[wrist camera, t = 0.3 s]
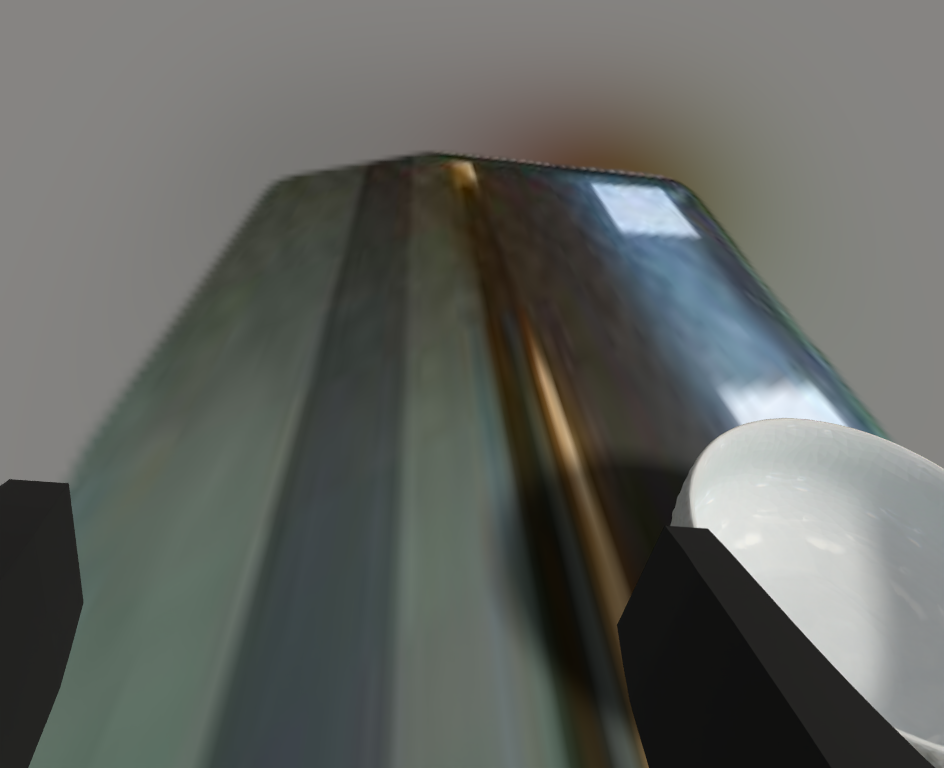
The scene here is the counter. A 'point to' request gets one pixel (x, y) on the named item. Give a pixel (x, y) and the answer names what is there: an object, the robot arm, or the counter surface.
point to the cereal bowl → (839, 553)
